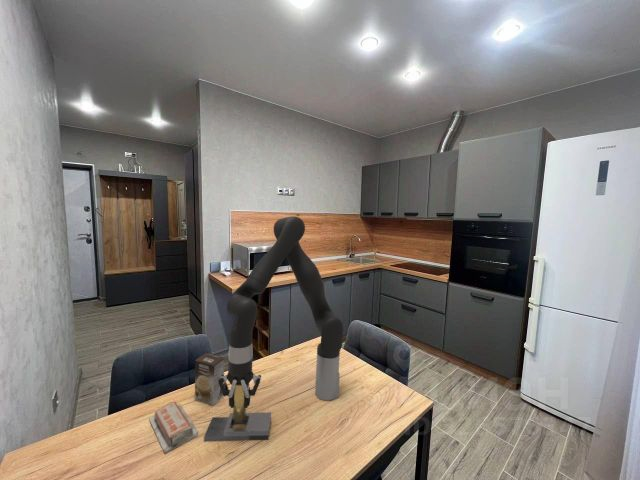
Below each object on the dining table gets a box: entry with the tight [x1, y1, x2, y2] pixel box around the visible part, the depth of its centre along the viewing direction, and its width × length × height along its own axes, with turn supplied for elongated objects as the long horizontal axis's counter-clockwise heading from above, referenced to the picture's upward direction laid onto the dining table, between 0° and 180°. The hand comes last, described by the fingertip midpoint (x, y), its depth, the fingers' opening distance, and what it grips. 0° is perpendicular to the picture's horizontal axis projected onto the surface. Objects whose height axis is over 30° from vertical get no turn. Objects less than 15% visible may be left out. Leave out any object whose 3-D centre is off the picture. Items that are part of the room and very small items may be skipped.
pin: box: [232, 385, 247, 421], centre depth 86 cm, size 4×4×12 cm
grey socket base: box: [203, 412, 272, 442], centre depth 87 cm, size 20×8×3 cm, turn 94°
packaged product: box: [148, 401, 199, 454], centre depth 87 cm, size 18×5×10 cm
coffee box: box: [194, 352, 225, 407], centre depth 101 cm, size 9×6×16 cm
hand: (239, 406), depth 86 cm, fingers closed on pin, 4 cm apart
